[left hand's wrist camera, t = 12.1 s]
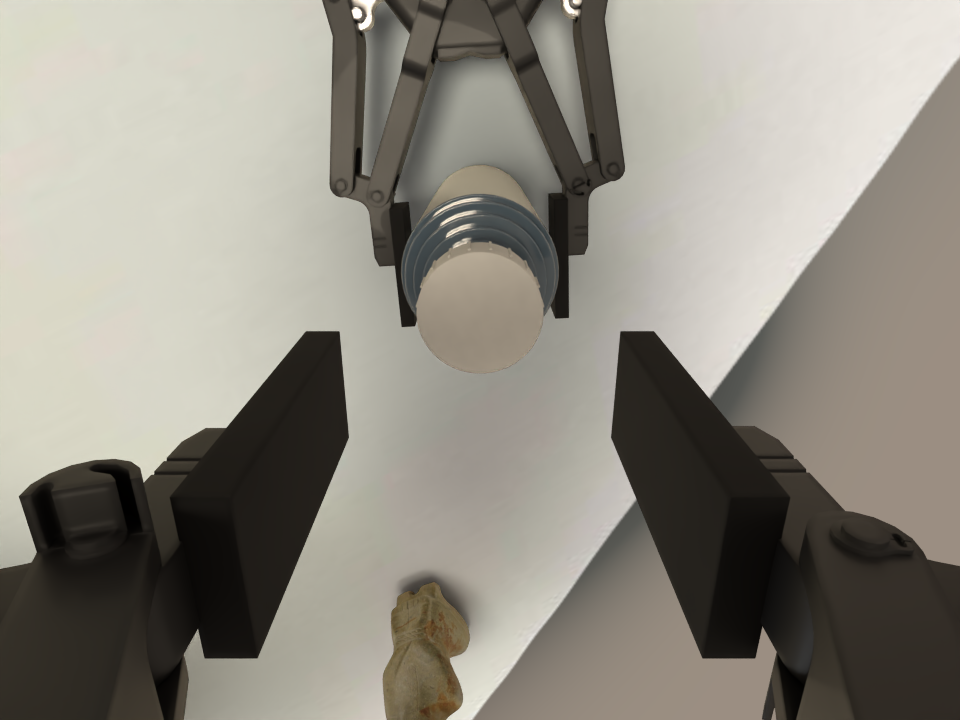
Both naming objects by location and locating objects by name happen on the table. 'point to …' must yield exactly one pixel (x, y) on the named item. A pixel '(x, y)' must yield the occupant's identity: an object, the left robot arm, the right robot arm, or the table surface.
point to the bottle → (480, 228)
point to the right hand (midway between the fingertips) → (484, 314)
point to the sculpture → (424, 657)
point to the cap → (480, 308)
